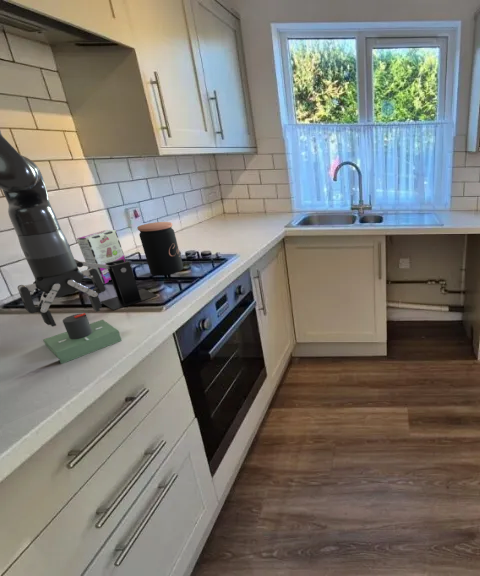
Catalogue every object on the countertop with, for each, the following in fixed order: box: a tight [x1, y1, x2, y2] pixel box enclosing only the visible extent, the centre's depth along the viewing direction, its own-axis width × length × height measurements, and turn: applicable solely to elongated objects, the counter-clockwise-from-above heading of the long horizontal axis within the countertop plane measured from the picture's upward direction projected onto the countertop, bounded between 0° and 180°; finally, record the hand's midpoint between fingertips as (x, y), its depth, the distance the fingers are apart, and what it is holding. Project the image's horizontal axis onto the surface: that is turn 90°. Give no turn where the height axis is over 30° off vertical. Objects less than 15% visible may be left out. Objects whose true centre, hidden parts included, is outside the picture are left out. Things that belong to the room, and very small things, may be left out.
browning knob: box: [62, 312, 93, 339], centre depth 85 cm, size 4×4×5 cm
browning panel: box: [42, 319, 122, 365], centre depth 87 cm, size 12×10×3 cm
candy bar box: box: [76, 229, 127, 285], centre depth 127 cm, size 11×5×16 cm, turn 170°
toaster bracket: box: [100, 259, 158, 311], centre depth 108 cm, size 12×10×13 cm
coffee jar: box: [136, 221, 184, 277], centre depth 130 cm, size 11×11×18 cm
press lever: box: [74, 258, 118, 271], centre depth 102 cm, size 12×5×2 cm, turn 144°
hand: (75, 317), depth 85 cm, fingers open, 8 cm apart
